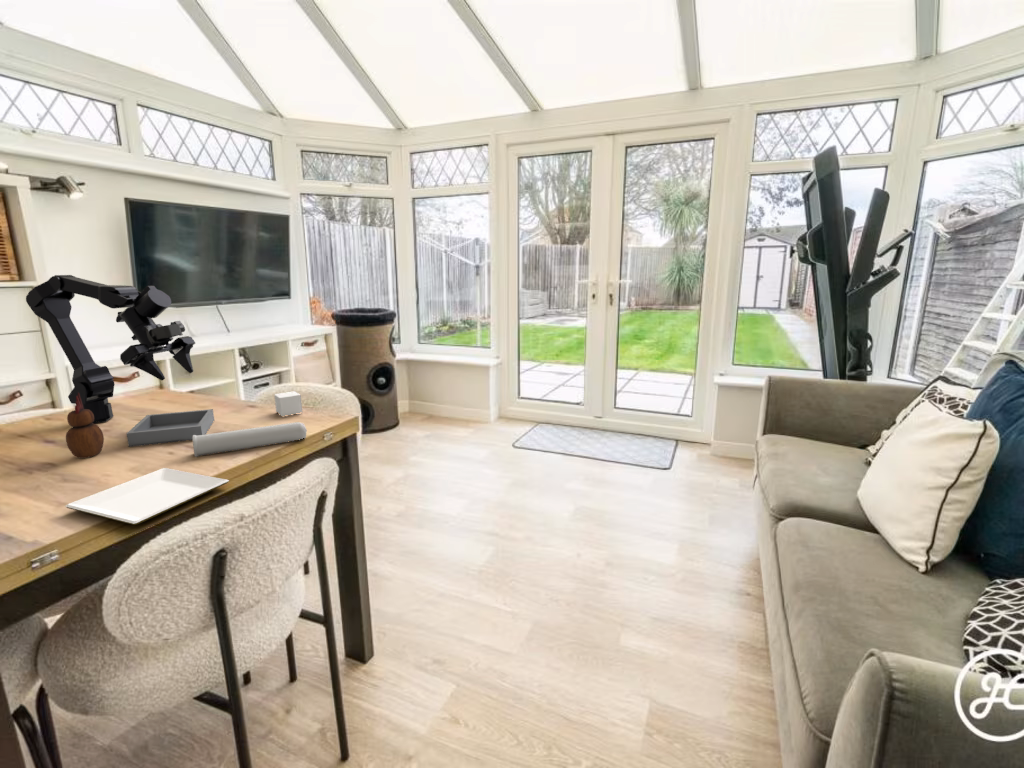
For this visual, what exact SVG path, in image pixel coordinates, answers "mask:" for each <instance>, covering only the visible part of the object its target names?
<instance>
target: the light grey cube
mask: <svg viewBox="0 0 1024 768" xmlns="http://www.w3.org/2000/svg"><path fill="white" fill-rule="evenodd" d="M273 395H274V405H275V413H276V412H278V413H279V414H280V415H281V416H285V415H291V414H296V413H300V412H302V413H303V406H302V405H303V404H302V395H301V394H300V393H299V392H297V391H295V390H293V391H287V392H280V393H274V394H273ZM280 415H279V416H280ZM281 416H280V417H281Z"/></svg>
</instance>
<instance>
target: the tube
mask: <svg viewBox="0 0 1024 768" xmlns="http://www.w3.org/2000/svg"><path fill="white" fill-rule="evenodd" d="M307 431H308V430H307V428H306V426H305V423H304V422H299V421H297V422H289V423H280V424H275V425H273V424H272V425H266V426H257V427H253V428H243V429H236V430H229V431H223V432H214V433H206V434H205V435H198V436H196V435H193V438H192V439H193V440H192V447H193V454H194V457H195V458H199V457H202V456H207V454H209V455H214V454H213V453H215V454H219V453H218V452H222V453H226V452H225V451H228V452H233V451H232V450H234V451H239V450H238V449H241V450H246V449H245V448H247V449H253V448H252V447H254V448H258V447H257V446H260V447H265V446H264V445H267V446H270V445H269V444H273V445H276V444H275V443H279V444H283V443H282V442H286V443H289V442H288V441H292V442H295V441H294V440H299V439H303V438H304V439H306V438H307ZM304 439H303V440H304ZM299 441H300V440H299ZM201 455H202V456H201Z"/></svg>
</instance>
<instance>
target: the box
mask: <svg viewBox="0 0 1024 768" xmlns="http://www.w3.org/2000/svg"><path fill="white" fill-rule="evenodd" d="M213 421H214V422H215V416H214V409H211V408H210V409H209V408H208V409H200V410H199V409H197V410H189V411H188V410H187V411H179V412H178V411H177V412H166V413H153V414H147V415H145V416H144V417H143V418H141V420H140V421H139V422H137V424H135V425H133V427H132V428H131V429H130V430H128V431H127V432H126V434H125V435H126V439H127V444H128V447H129V448H132V447H140V446H141V445H142V446H150V445H149V444H152V445H158V443H161V444H168V442H170V443H177V442H178V441H180V442H187V441H186V440H189V441H193V439H192V438H193V435H196V436H198V435H205V434H208V432H207V431H209V430H210V428H211V427H212V425H213V424H214V422H213ZM212 423H213V424H212ZM210 426H211V427H210ZM208 429H209V430H208Z"/></svg>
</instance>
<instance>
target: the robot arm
mask: <svg viewBox="0 0 1024 768" xmlns="http://www.w3.org/2000/svg"><path fill="white" fill-rule="evenodd" d="M75 295H80V296H84V297H88V298H92V299H94V300H98V301H99V303H100V304H101V305H103V306H105V307H108V308H110V309H124V310H123V311H118V312H117V316H116V319H115V321H116V323H123V322H124V323H125V325H126V326H127V327H128V329H129V330H130V331H131V332H132V334H133V335H132V336H131V337H130V338H131V339H132V341H138V343H137V344H131V345H130V346H128V347H127V348H126V349H125V350H124V351H123V352H121V353H120V356H119V357H120V358H119V359H120V361H121V362H122V363H123V365H124V366H128V365H129V366H130V367H134V368H136V369H138V370H141V371H143V372H145V373H146V374H148V375H151V376H153V377H154V378H157V379H158V380H160V381H164V380H165V379H166V377H165V375H164V373H163V372H162V370H161V369H160V367H159V365H158V364H157V363H156V361H155V360H154V355H155V354H160V353H165V352H169V354H171V355H172V358H173V360H175V361H176V362H177V363H178V364H179V365H180V366H181V367H182V368H183V369H184V370H185V371H187V372H188V373H189V374H193V372H194V368H193V364H192V359H191V349H193V348H194V346H195V344H196V341H195V340H194V339H193V337H192V336H189V335H188V336H187V335H185V336H183V335H184V334H183V333H184V332H185V331H186V328H185V326H184V324H183V322H182V321H181V320H175V321H173V322H172V321H171V322H170V323H169V324H167V325H166V324H165V325H162V324H161V323H156V322H155V321H154V320H153V319H155V318H157V317H159V316H160V315H161V314H162V313H163V312H165V311H166V310H167V309H168V308H169V307H170V306H171V305H172V299H171V297H170V296H169V295H168V294H167V293H166V292H164V291H162V290H160V289H157V287H156V286H155V285H147V286H146V287H144V288H143V290H142V291H139V290H138V288H137V287H135V286H133V285H125V284H124V285H122V284H118V285H116V284H104V283H101V282H97V281H92V280H89V279H85V278H80V277H77V276H74V275H72V274H60V275H59V274H58V275H57V274H55V275H54V276H53V275H52V276H51V277H49V279H48V280H46V281H45V282H43V283H40V284H38V285H36V286H35V287H33V288H32V289H31V290H29V291H28V293H27V294H26V296H25V302H26V304H27V306H28V307H29V308H30V309H31V311H32V312H33V313H34V315H35V316H37V317H38V318H40V319H42V320H43V321H45V322H46V323H47V324H48V326H49V327H50V330H51V331H52V333H53V334H54V336H55V338H56V340H57V342H58V344H59V346H60V348H61V349H62V351H63V353H64V354H65V357H66V358H67V361H68V362H69V364H70V366H71V367H72V368H73V373H72V379H71V380H72V384H73V386H74V387H73V388H72V390H71V391H70V393H69V395H68V396H67V397H68V400H69V402H70V404H72V405H73V404H74V405H76V396H78V393H79V394H80V397H81V401H82V404H83V408H84V409H89V410H90V411H92V413H93V415H94V421H93V422H92V423H93V424H98V422H100V423H106V421H107V422H108V421H110V420H111V419H113V417H114V412H113V408H112V403H111V402H109V399H110V398H113V397H114V389H115V381H114V379H115V378H114V376H113V375H112V374H111V372H110V369H109V368H108V366H106V365H103V366H100V365H99V364H97V363H96V362H95V360H94V358H93V357H92V355H91V353H90V351H89V350H88V347H87V346H86V344H85V342H84V340H83V338H82V336H81V335H80V333H79V331H78V330H77V327H76V326H75V324H74V322H73V320H72V319H71V311H72V304H71V301H72V300H73V299H74V298H75ZM125 308H126V309H125ZM178 336H179V337H178ZM175 337H177V338H176V339H175V340H174V338H175ZM169 342H171V343H169Z"/></svg>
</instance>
